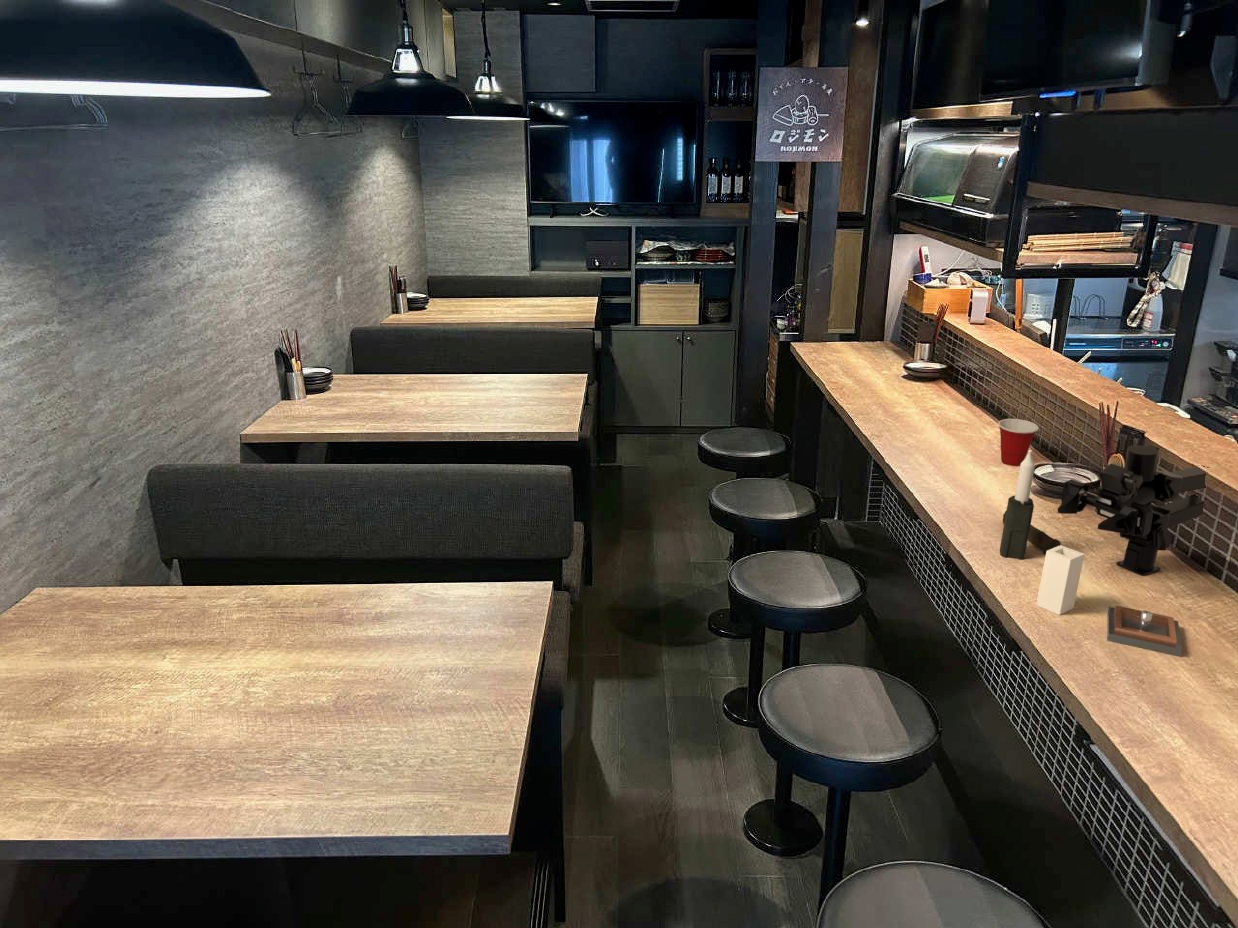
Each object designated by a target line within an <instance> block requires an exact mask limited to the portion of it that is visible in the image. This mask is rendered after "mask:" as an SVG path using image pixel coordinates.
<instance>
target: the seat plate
mask: <svg viewBox="0 0 1238 928" xmlns="http://www.w3.org/2000/svg"><path fill="white" fill-rule="evenodd" d="M1106 613H1107V615H1106V617H1107V618H1106V623H1107V624H1106V629H1107V630H1106V641H1107V642H1108V641H1109V642H1113V643H1116V644H1117V643H1118V644H1122V645H1126V646H1131V647H1135V648H1139V649H1144V650H1148V651H1153V652H1157V653H1162V654H1166V655H1170V654H1171V656H1176V657H1178V658H1179V657H1180V658H1181V654H1182V652H1183V645H1182V639H1181V632H1180V624H1179V620H1176V619H1175V616H1174V617H1173V616H1169V615H1163V614H1160V613H1154V612H1151V611H1149V610H1148V611H1147V610H1139V609H1135V608H1130V607H1124V606H1121V605H1115V607H1113V606H1108V608H1107V612H1106Z"/></svg>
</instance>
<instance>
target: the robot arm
mask: <svg viewBox="0 0 1238 928" xmlns="http://www.w3.org/2000/svg"><path fill="white" fill-rule="evenodd" d="M1159 451H1160V447H1158V446H1155V445H1151V444H1149V445H1139V444H1137V445H1133V444H1131V445H1129V446H1128V447H1127V450H1126V456H1125V464H1124V466H1120V465H1117V464H1114V463H1109V464H1107V466H1106V467H1104V468H1103V469H1102V470H1101V471H1100V472H1099V473H1098V476H1099V477H1100V483H1101V486H1098V487H1097V492H1096V493H1097V494H1099V495H1097V494H1095V493H1092V492H1089V486H1088V485H1087V484H1086V483H1083V482H1081V481H1078V480H1075V479H1069V480H1067V481H1065V482H1063V485H1062V495H1061V504H1060V505H1059V507H1058V508H1057V513H1058V514H1063V515H1064V514H1065V515H1067V514H1068V515H1073V514H1075V515H1076V514H1078V513H1080V512H1083V511H1084V510H1085V508H1086V507H1087V505H1088V506H1091V507H1094V508H1095V509H1096V510H1097V511H1096V515H1098V516H1100V517H1103V518H1106V519H1104V520H1102V521H1101V522H1100V523H1098V524H1097V529H1098V530H1101V531H1104V532H1105V531H1106V532H1114V533H1116V534H1117V533H1118V534H1119V538H1122V539H1123V538H1124V539H1126V540H1128V541H1127V545H1126V549H1125V552H1124V553H1125V554H1124V556H1123V557H1124V558H1123V559H1122V560H1119V561H1116V565H1117V566H1119V567H1121V568H1124V569H1126V570H1129V571H1131V572H1133V573H1135V574H1138V575H1140V576H1146V575H1150V574H1154V573H1156V572H1159V571H1161V569H1162V568H1161V567H1160V566H1157V565H1155V563H1156V560H1157V556H1158V552H1159V551H1167V548H1169V547H1170V545H1171V543H1172V540H1173V537H1172V535H1171V533H1170V531H1169V530H1168V529H1170V528H1172V527H1176V526H1178V525H1180V524H1182V523H1186V522H1188V521H1191V520H1193V519H1196V518H1198V517H1199V518H1200V517H1202V516H1203V515H1202V511H1203V505H1204V501H1202V500H1201V499H1200V498H1199V497H1198V496H1196V495H1195V494H1193V495H1192V494H1191V495H1189V496H1186V497H1183V498H1180V499H1178V498H1179V497H1180V496H1179V495H1180V493H1184V492H1191V490H1196V489H1201V488H1206V485H1205V476H1206V473H1204V471H1202V470H1201V469H1199V468H1198V467H1197V466H1195V467H1196V468H1195V467H1191V468H1185V469H1180V470H1174V471H1164V470H1160V469H1157V467H1158V460H1159V453H1160V452H1159ZM1202 466H1203V467H1205V466H1206V465H1202ZM1206 467H1207V468H1210V467H1209V466H1206ZM1155 500H1156V501H1160V502H1162V503H1165V504H1164V505H1161V506H1158V505H1155V504H1152V503H1154V501H1155ZM1174 500H1175V501H1174ZM1171 501H1172V502H1171ZM1169 502H1170V503H1169ZM1201 515H1202V516H1201Z"/></svg>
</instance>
